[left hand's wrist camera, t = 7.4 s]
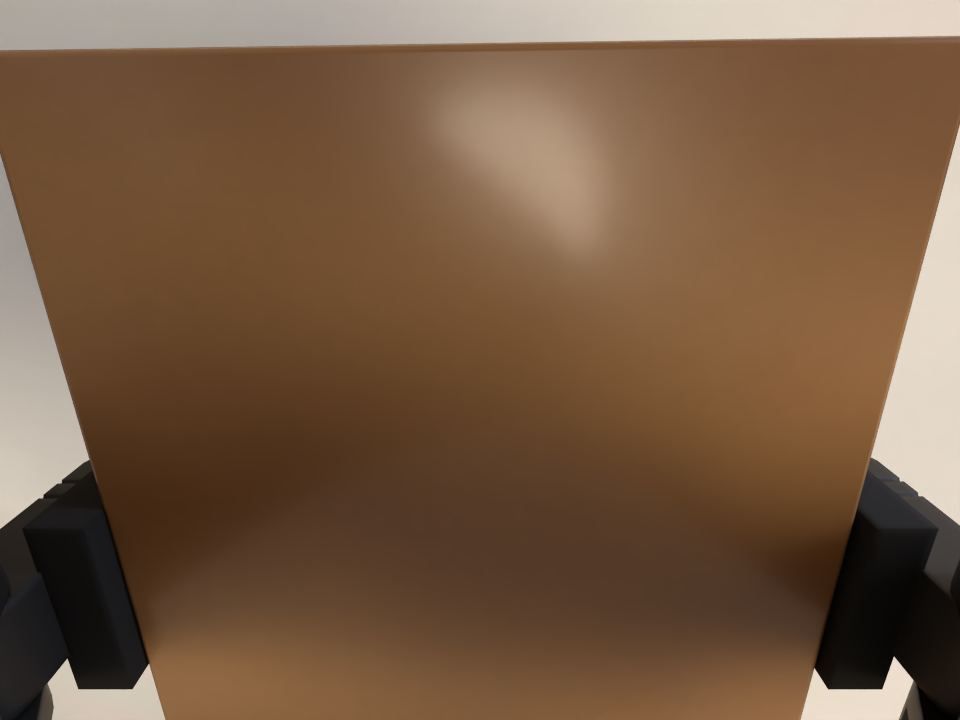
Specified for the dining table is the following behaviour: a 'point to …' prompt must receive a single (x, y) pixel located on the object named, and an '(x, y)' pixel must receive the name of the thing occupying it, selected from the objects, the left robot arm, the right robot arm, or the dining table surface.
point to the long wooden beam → (481, 356)
